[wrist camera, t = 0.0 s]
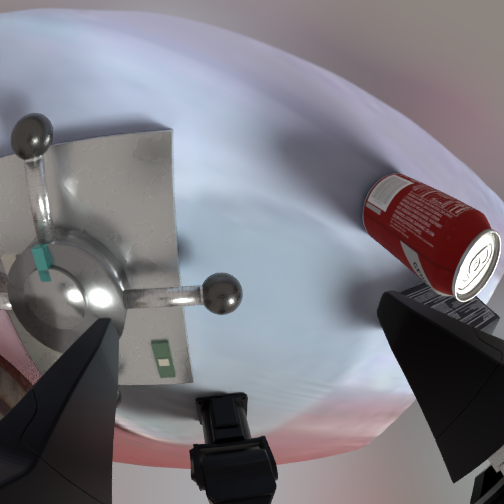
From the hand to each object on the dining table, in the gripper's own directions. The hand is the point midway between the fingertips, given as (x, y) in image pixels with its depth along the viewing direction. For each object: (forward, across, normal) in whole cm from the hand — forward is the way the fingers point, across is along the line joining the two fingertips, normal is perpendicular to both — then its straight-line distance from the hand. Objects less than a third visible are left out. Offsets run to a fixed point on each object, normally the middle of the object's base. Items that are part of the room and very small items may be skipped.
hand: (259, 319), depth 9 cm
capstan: (+12, +12, +6) cm, 18 cm away
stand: (+15, +12, +7) cm, 20 cm away
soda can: (+15, -16, +1) cm, 22 cm away
